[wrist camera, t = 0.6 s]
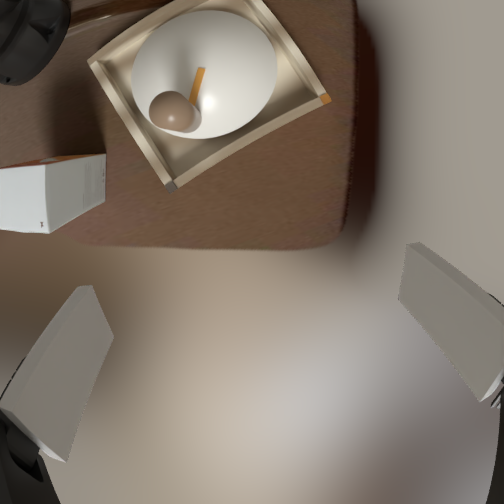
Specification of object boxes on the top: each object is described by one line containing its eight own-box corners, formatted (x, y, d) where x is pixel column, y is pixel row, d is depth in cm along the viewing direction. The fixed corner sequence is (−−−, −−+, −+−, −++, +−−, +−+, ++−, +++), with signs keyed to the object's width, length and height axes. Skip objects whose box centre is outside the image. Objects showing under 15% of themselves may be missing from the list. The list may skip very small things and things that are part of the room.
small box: (107, 152, 29) (46, 163, 17) (106, 201, 31) (50, 235, 19) (58, 154, 28) (-8, 169, 16) (58, 200, 30) (-3, 231, 18)
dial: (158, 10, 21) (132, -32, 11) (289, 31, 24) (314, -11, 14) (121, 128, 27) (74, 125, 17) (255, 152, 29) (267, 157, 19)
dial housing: (99, 66, 24) (85, 60, 21) (236, -14, 21) (237, -28, 18) (176, 188, 31) (169, 193, 28) (321, 104, 28) (331, 101, 25)
